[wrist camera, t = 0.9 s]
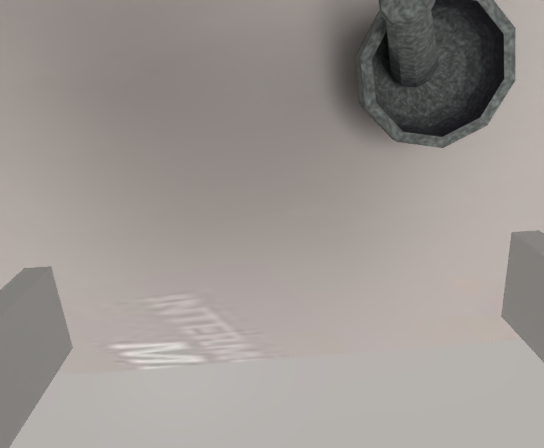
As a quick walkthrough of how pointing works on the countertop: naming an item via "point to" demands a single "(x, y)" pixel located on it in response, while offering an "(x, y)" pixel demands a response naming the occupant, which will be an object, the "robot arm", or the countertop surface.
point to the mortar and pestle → (435, 68)
